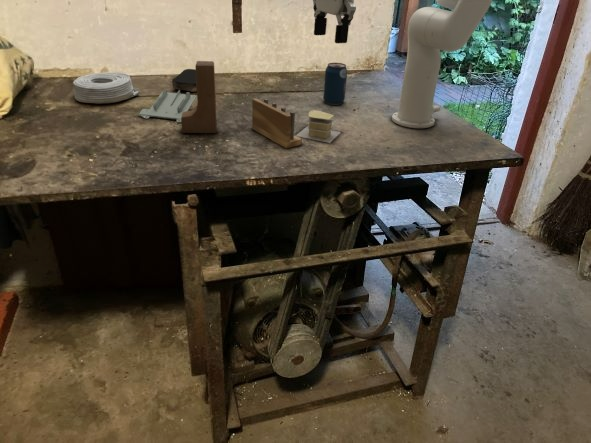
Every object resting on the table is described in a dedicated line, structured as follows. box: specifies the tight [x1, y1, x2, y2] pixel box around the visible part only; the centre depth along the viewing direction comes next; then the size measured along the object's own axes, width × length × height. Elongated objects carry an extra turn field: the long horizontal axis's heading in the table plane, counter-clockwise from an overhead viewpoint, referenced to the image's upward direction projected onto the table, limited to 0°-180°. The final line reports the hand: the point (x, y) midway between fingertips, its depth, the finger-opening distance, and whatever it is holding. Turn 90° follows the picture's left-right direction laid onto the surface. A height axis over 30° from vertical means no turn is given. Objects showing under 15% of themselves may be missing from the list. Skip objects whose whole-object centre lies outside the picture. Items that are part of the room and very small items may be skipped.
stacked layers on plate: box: [295, 110, 341, 144], centre depth 131 cm, size 10×9×6 cm
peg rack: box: [251, 97, 303, 149], centre depth 127 cm, size 5×16×8 cm, turn 37°
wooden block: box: [180, 60, 218, 134], centre depth 126 cm, size 9×4×18 cm, turn 96°
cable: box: [72, 71, 140, 104], centre depth 149 cm, size 18×18×6 cm
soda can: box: [322, 62, 348, 106], centre depth 154 cm, size 7×7×12 cm
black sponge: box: [171, 68, 197, 93], centre depth 165 cm, size 16×8×4 cm, turn 172°
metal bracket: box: [138, 89, 197, 123], centre depth 141 cm, size 14×6×15 cm
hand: (329, 38), depth 118 cm, fingers open, 9 cm apart
